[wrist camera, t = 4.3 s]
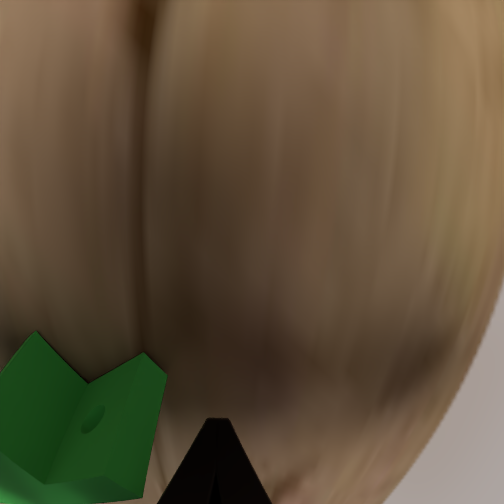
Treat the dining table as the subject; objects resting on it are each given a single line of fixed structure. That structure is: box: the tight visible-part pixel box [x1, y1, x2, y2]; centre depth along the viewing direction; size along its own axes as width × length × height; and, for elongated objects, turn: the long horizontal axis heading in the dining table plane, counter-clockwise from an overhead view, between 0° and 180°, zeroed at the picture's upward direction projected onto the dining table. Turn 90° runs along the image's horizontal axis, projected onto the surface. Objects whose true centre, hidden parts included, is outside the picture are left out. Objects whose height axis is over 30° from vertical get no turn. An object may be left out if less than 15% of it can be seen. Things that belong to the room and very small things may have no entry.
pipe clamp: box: [0, 331, 168, 504], centre depth 8 cm, size 11×4×5 cm, turn 124°
